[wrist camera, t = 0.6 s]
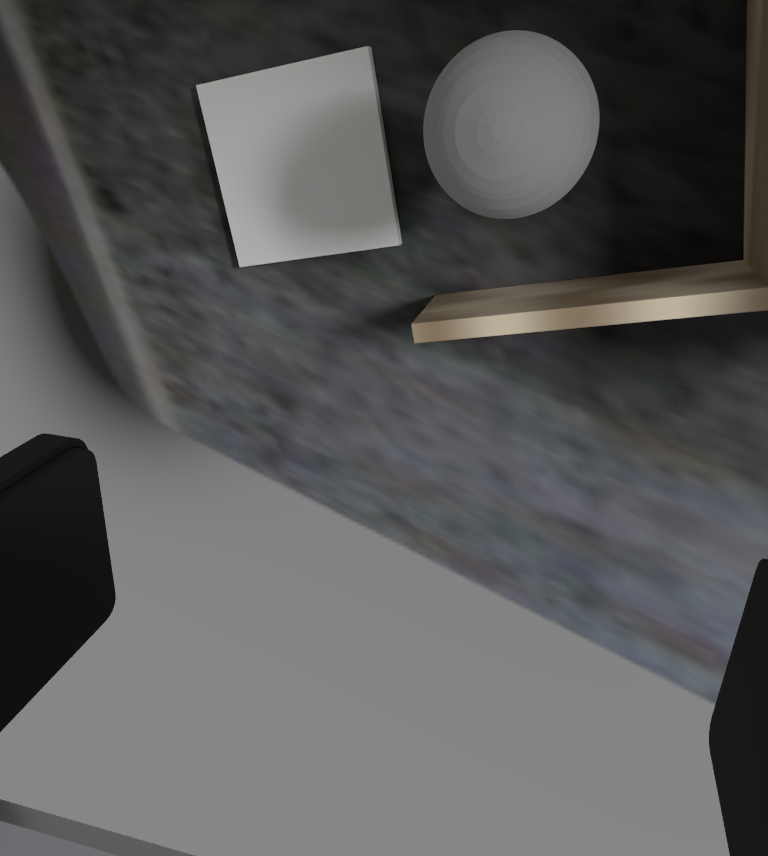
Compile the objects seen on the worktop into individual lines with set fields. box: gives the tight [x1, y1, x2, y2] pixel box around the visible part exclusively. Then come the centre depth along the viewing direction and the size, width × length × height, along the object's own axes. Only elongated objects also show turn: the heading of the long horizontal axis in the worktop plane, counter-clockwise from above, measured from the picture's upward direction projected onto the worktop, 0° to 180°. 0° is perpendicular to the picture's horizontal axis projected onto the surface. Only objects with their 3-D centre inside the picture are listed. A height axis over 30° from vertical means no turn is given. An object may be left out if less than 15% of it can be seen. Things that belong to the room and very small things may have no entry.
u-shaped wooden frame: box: [411, 0, 768, 343], centre depth 26 cm, size 14×15×5 cm
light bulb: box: [423, 30, 600, 219], centre depth 25 cm, size 6×6×10 cm
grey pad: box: [196, 46, 402, 267], centre depth 32 cm, size 8×8×1 cm
